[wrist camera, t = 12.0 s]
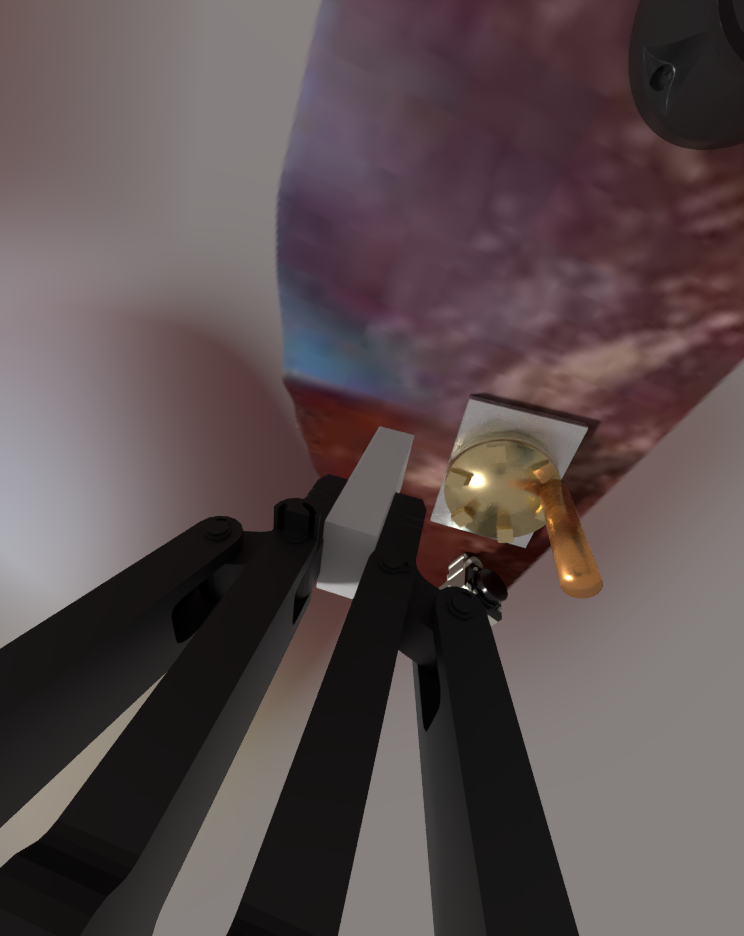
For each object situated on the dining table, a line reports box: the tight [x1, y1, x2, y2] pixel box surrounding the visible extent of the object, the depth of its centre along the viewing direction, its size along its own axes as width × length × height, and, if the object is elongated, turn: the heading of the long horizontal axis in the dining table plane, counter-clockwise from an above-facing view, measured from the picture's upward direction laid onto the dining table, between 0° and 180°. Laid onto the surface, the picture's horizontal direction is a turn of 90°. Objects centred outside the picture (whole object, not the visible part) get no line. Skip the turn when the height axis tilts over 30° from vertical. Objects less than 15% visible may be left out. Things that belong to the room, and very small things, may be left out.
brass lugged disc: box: [444, 432, 603, 598], centre depth 39 cm, size 14×13×17 cm
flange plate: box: [430, 395, 588, 548], centre depth 47 cm, size 18×13×2 cm
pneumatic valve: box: [438, 553, 508, 626], centre depth 51 cm, size 6×12×12 cm, turn 146°
